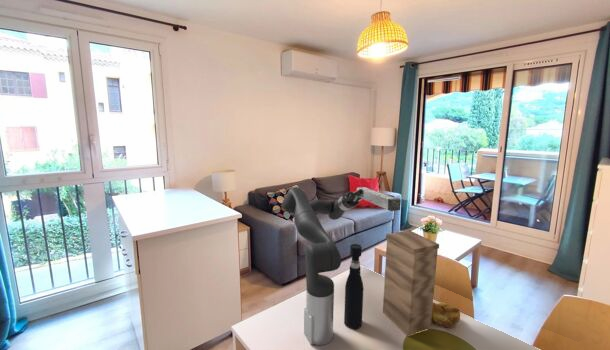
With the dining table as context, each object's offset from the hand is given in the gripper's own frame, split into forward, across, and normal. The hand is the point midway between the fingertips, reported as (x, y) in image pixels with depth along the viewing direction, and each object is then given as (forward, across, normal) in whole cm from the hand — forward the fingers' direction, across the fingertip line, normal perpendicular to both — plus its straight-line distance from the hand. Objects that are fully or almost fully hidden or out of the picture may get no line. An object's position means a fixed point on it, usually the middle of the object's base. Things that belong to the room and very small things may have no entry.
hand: (366, 190), depth 124 cm
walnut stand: (+3, 0, +52) cm, 52 cm away
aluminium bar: (+5, 0, +7) cm, 8 cm away
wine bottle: (-2, -19, +49) cm, 53 cm away
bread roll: (+7, +11, +54) cm, 56 cm away
